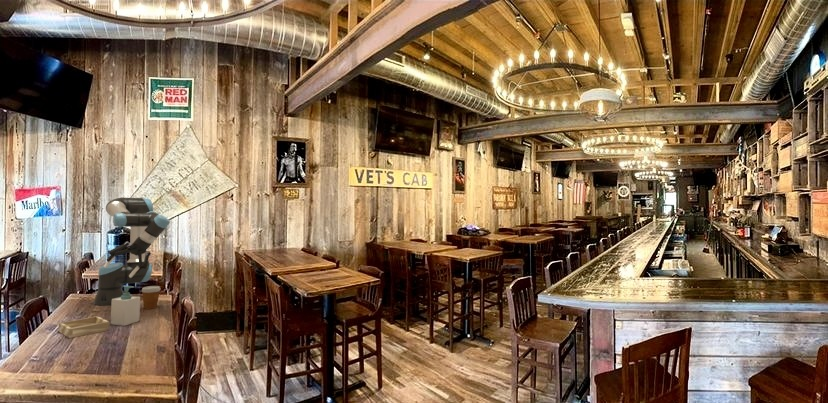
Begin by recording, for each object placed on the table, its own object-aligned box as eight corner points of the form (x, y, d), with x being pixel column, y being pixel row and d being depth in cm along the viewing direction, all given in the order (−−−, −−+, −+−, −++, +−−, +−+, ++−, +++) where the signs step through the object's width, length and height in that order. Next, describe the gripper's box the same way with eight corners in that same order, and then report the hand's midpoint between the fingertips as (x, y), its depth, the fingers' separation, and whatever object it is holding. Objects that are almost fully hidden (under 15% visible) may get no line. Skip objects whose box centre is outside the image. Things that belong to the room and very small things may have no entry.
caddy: (58, 331, 186) (58, 322, 186) (97, 324, 198) (97, 316, 198) (69, 338, 177) (69, 329, 177) (109, 330, 190) (109, 321, 190)
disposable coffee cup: (152, 310, 226) (153, 289, 226) (136, 309, 226) (137, 288, 226) (163, 306, 235) (164, 286, 235) (148, 305, 235) (149, 285, 236)
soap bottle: (124, 325, 197) (126, 288, 197) (110, 324, 199) (112, 286, 199) (139, 321, 205) (141, 284, 205) (125, 319, 207) (127, 283, 207)
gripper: (124, 232, 205) (94, 265, 201) (167, 252, 223) (141, 283, 219) (121, 227, 210) (92, 259, 206) (164, 247, 228) (138, 277, 224)
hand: (117, 271), depth 212 cm, fingers open, 13 cm apart
